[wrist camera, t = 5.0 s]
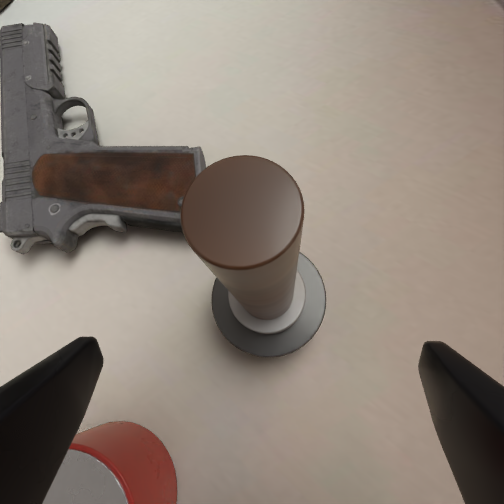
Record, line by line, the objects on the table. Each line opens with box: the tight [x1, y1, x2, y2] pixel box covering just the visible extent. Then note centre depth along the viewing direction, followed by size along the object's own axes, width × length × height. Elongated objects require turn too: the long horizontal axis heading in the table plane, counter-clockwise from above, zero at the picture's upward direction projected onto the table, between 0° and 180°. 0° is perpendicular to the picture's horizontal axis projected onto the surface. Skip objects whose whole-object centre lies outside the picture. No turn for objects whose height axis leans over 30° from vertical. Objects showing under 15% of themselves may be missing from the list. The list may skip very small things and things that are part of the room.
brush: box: [180, 155, 326, 357], centre depth 13 cm, size 6×6×14 cm
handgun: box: [0, 23, 206, 254], centre depth 24 cm, size 3×22×14 cm
